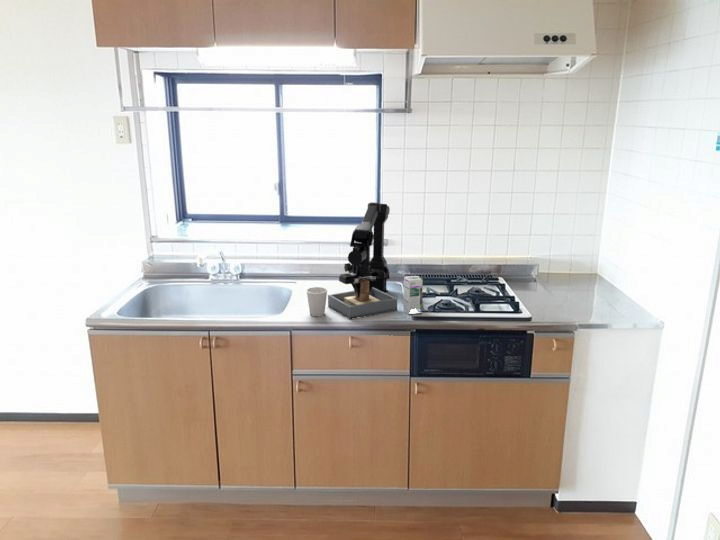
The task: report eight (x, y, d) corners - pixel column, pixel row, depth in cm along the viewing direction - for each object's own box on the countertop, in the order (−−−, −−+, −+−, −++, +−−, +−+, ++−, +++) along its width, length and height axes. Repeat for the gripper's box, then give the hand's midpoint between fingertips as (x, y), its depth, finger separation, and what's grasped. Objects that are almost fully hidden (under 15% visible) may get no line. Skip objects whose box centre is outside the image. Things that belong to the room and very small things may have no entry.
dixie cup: (309, 310, 217) (309, 286, 214) (329, 311, 215) (329, 287, 213) (304, 317, 209) (303, 292, 206) (325, 318, 207) (325, 293, 205)
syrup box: (408, 315, 211) (409, 280, 208) (403, 310, 217) (404, 276, 213) (421, 314, 213) (423, 278, 209) (416, 309, 218) (417, 275, 215)
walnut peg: (363, 299, 221) (364, 278, 219) (369, 302, 218) (369, 280, 215) (355, 300, 219) (355, 279, 217) (360, 303, 216) (360, 282, 213)
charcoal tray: (373, 298, 232) (373, 287, 231) (396, 310, 217) (397, 298, 216) (328, 306, 221) (328, 295, 220) (349, 319, 206) (349, 307, 205)
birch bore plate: (366, 300, 226) (366, 293, 225) (380, 307, 217) (381, 300, 216) (343, 304, 221) (343, 297, 220) (357, 312, 211) (357, 305, 211)
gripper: (371, 252, 225) (371, 288, 229) (332, 258, 216) (332, 295, 220) (386, 258, 216) (385, 295, 220) (346, 263, 207) (346, 302, 211)
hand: (362, 296), depth 218 cm, fingers closed on walnut peg, 4 cm apart
